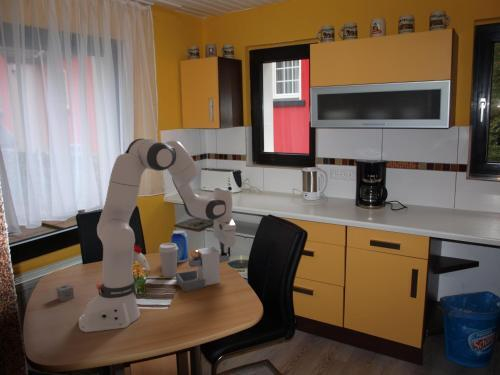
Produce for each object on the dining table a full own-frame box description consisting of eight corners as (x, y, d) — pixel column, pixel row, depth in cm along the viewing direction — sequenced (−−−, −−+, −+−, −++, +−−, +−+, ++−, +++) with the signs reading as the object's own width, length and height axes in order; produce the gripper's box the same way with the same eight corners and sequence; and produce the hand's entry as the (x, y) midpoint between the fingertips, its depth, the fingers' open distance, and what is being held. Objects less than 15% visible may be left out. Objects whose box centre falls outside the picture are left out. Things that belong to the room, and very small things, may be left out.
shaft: (191, 267, 190) (190, 249, 189) (188, 264, 194) (187, 246, 192) (229, 261, 197) (228, 243, 196) (226, 258, 201) (225, 241, 200)
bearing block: (203, 285, 192) (202, 254, 189) (198, 279, 199) (197, 249, 196) (220, 282, 195) (219, 251, 192) (214, 276, 202) (213, 246, 200)
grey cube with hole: (69, 294, 185) (67, 284, 184) (74, 298, 181) (72, 287, 180) (57, 298, 181) (56, 287, 180) (62, 302, 178) (61, 290, 177)
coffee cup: (183, 273, 207) (182, 244, 204) (170, 280, 199) (168, 249, 197) (169, 269, 212) (167, 241, 210) (155, 276, 204) (153, 246, 202)
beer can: (170, 262, 222) (168, 233, 220) (175, 257, 231) (174, 229, 228) (185, 263, 221) (184, 234, 218) (190, 258, 229) (189, 229, 226)
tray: (183, 291, 186) (183, 283, 185) (176, 281, 197) (175, 273, 197) (205, 287, 190) (204, 279, 189) (196, 277, 201) (196, 269, 201)
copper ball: (195, 261, 191) (190, 255, 189) (193, 259, 194) (188, 252, 193) (202, 256, 192) (198, 249, 190) (200, 253, 195) (195, 247, 194)
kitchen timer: (142, 280, 200) (140, 249, 197) (115, 278, 203) (113, 248, 200) (154, 269, 213) (152, 241, 211) (129, 267, 216) (127, 239, 213)
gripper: (209, 218, 203) (210, 245, 206) (224, 228, 185) (225, 258, 187) (222, 216, 206) (222, 243, 208) (237, 226, 187) (238, 256, 190)
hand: (224, 250), depth 198 cm, fingers closed on shaft, 3 cm apart
